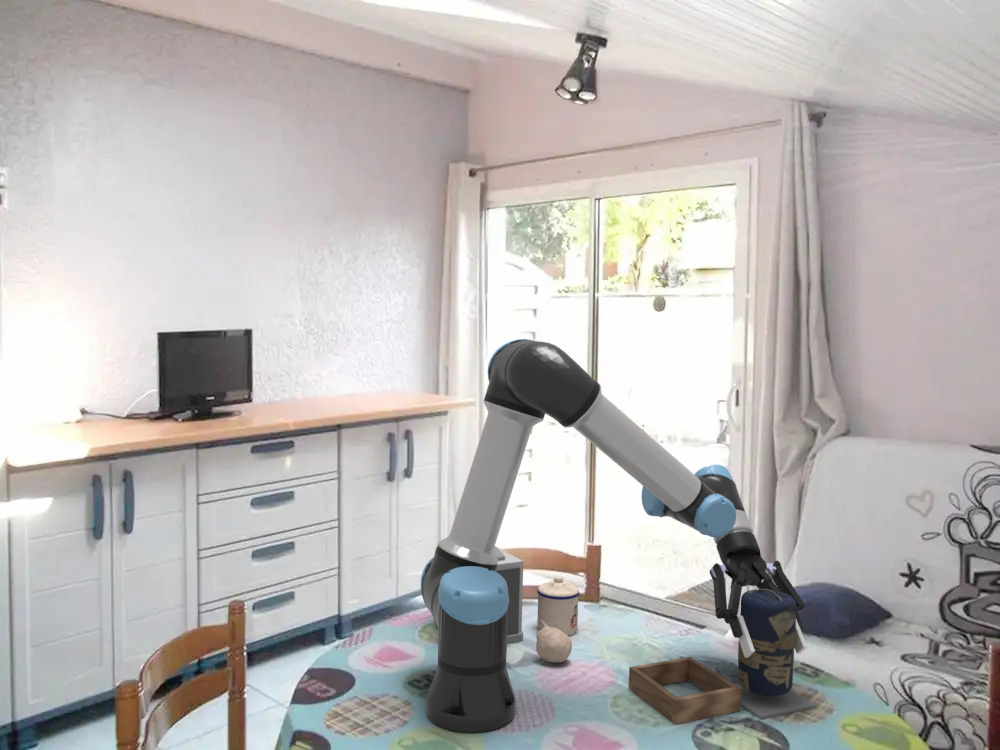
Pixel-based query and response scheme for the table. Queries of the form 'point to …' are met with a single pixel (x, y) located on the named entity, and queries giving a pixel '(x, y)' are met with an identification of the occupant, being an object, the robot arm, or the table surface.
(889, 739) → the table surface
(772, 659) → the canister
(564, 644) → the garlic bulb
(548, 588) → the teacup with lid
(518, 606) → the alarm clock
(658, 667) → the holder
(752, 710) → the mat
